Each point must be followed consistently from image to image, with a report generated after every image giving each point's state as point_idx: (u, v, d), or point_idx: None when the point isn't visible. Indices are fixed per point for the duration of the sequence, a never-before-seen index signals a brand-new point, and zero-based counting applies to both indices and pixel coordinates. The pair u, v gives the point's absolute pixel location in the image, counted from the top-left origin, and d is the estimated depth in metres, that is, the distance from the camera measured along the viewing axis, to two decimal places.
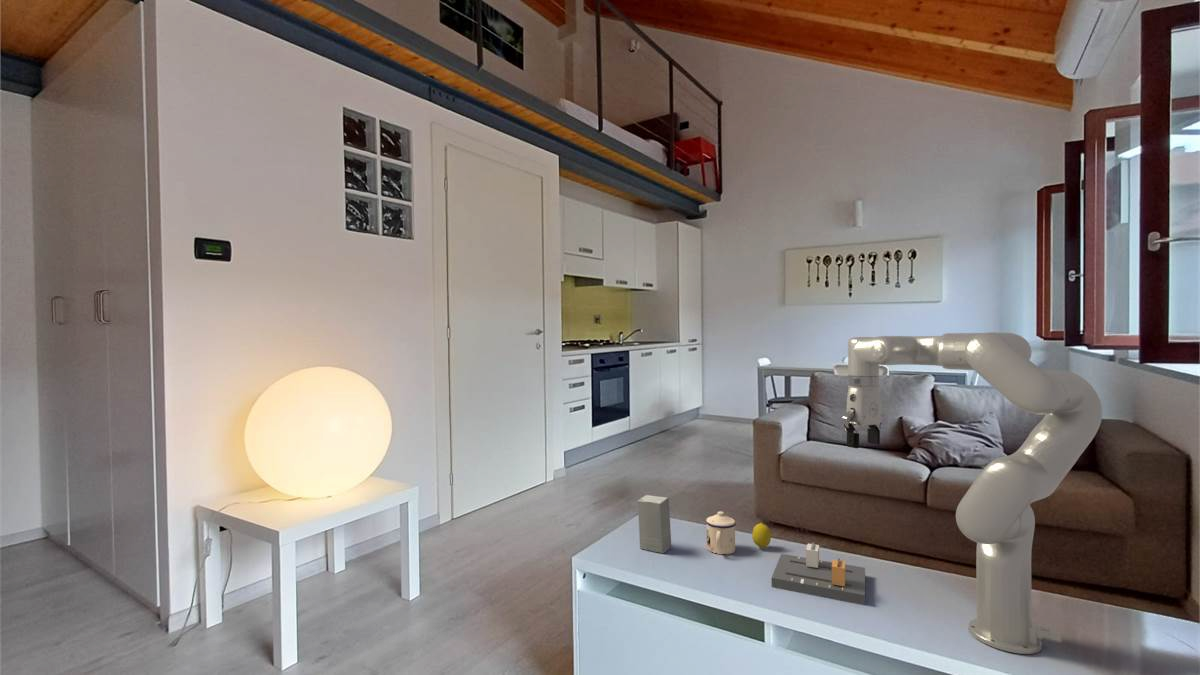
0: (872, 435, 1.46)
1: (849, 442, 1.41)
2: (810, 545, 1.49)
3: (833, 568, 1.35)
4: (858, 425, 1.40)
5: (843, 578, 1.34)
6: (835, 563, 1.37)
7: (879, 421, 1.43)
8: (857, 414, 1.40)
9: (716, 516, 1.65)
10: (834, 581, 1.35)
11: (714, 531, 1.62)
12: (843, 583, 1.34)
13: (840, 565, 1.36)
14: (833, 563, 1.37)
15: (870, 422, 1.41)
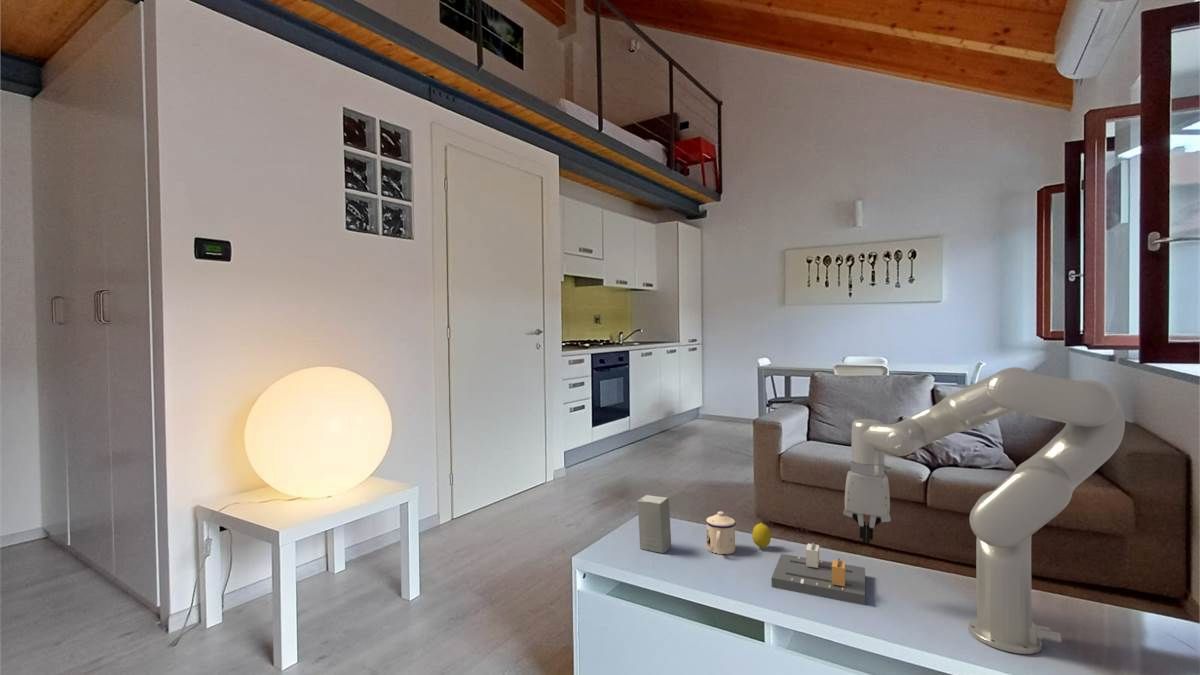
0: None
1: (872, 537, 1.33)
2: (810, 545, 1.49)
3: (833, 568, 1.35)
4: None
5: (843, 578, 1.34)
6: (835, 563, 1.37)
7: None
8: None
9: (716, 516, 1.65)
10: (834, 581, 1.35)
11: (714, 531, 1.62)
12: (843, 583, 1.34)
13: (840, 565, 1.36)
14: (833, 563, 1.37)
15: None
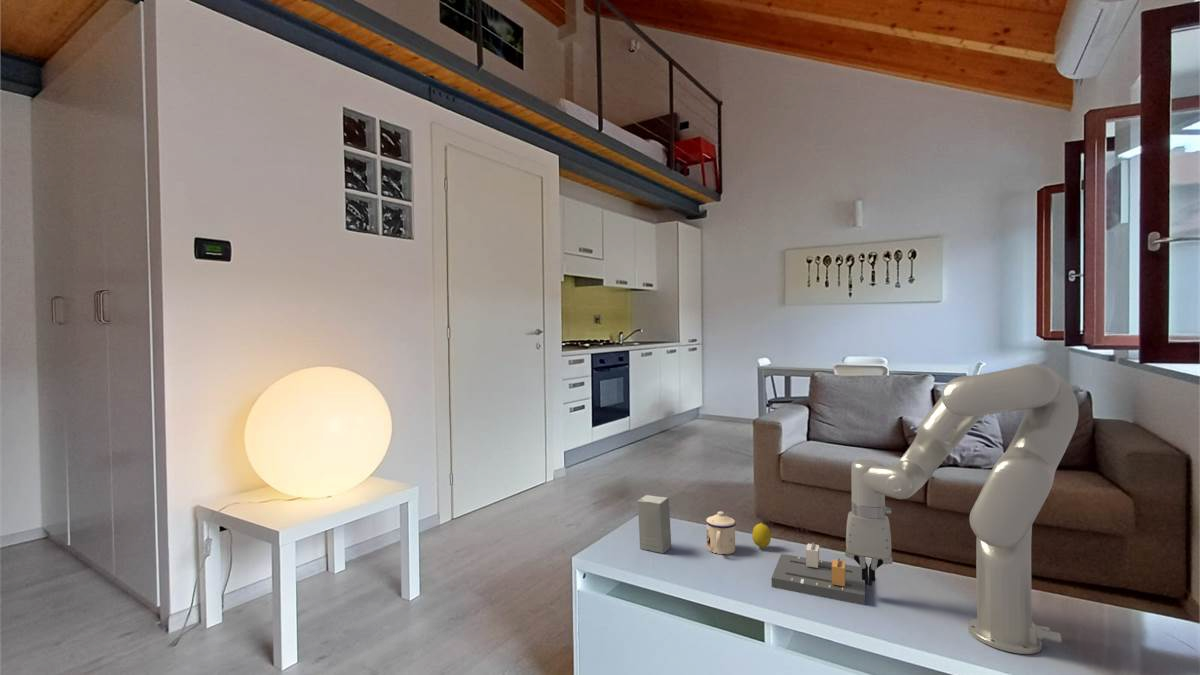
0: None
1: None
2: (810, 545, 1.49)
3: (833, 568, 1.35)
4: None
5: (843, 578, 1.34)
6: (835, 563, 1.37)
7: None
8: None
9: (716, 516, 1.65)
10: (834, 581, 1.35)
11: (714, 531, 1.62)
12: (843, 583, 1.34)
13: (840, 565, 1.36)
14: (833, 563, 1.37)
15: None
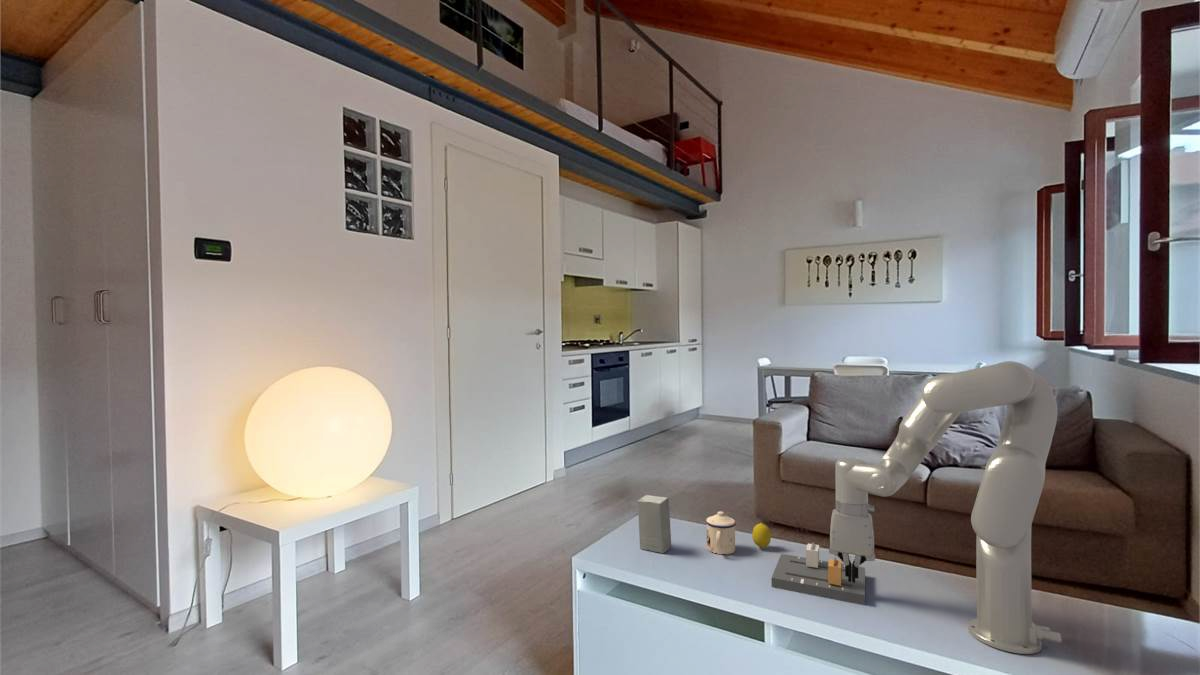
0: (851, 570, 1.35)
1: None
2: (810, 545, 1.49)
3: (829, 567, 1.35)
4: None
5: (839, 577, 1.34)
6: (831, 562, 1.37)
7: None
8: None
9: (716, 516, 1.65)
10: (831, 581, 1.35)
11: (714, 531, 1.62)
12: (839, 582, 1.34)
13: (836, 564, 1.36)
14: (829, 562, 1.37)
15: None
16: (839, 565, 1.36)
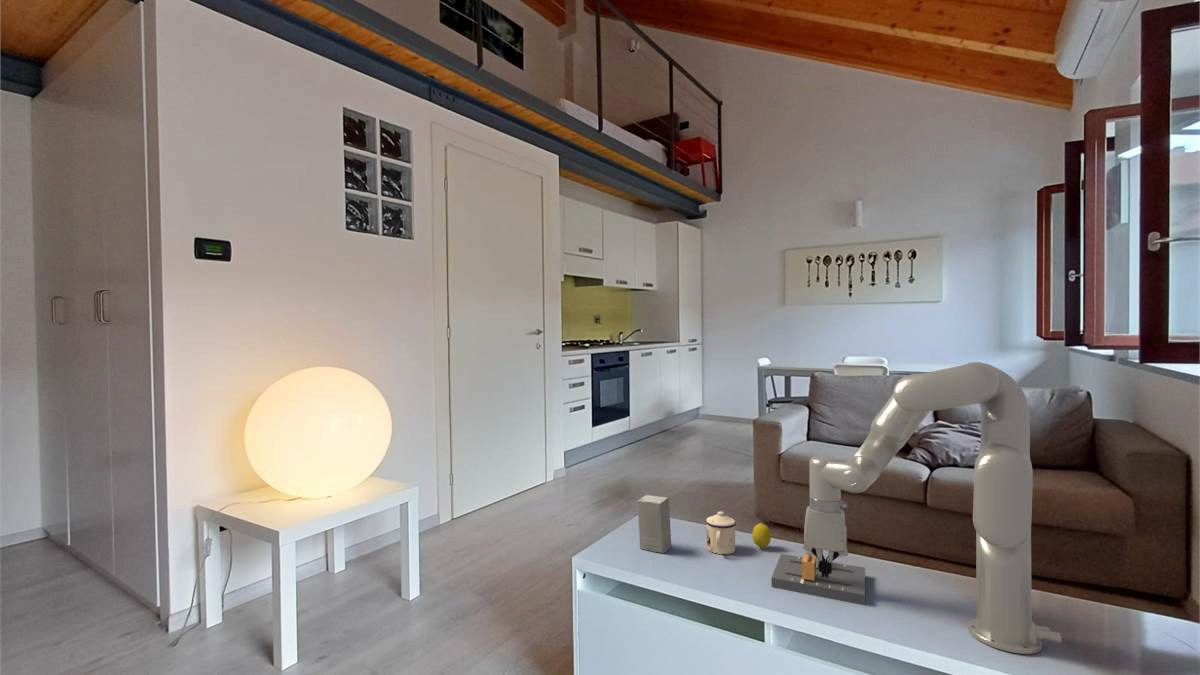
0: None
1: (831, 571, 1.37)
2: None
3: (803, 563, 1.38)
4: None
5: (813, 573, 1.37)
6: (806, 558, 1.40)
7: None
8: (846, 537, 1.37)
9: (716, 516, 1.65)
10: (804, 576, 1.38)
11: (714, 531, 1.62)
12: (813, 577, 1.37)
13: (810, 560, 1.39)
14: (804, 558, 1.40)
15: None
16: (813, 561, 1.39)
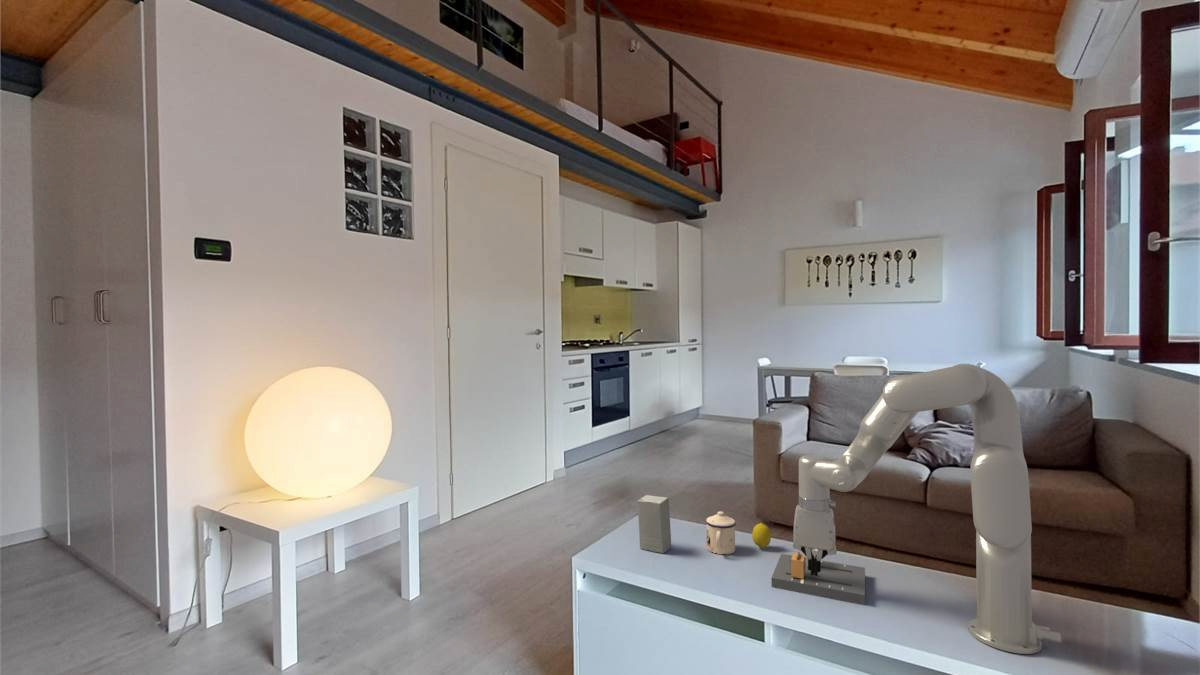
0: None
1: (820, 570, 1.38)
2: None
3: (792, 561, 1.39)
4: None
5: (802, 571, 1.38)
6: (795, 556, 1.41)
7: None
8: (835, 536, 1.38)
9: (716, 516, 1.65)
10: (793, 574, 1.39)
11: (714, 531, 1.62)
12: (802, 575, 1.38)
13: (799, 558, 1.40)
14: (793, 556, 1.41)
15: None
16: (802, 559, 1.40)
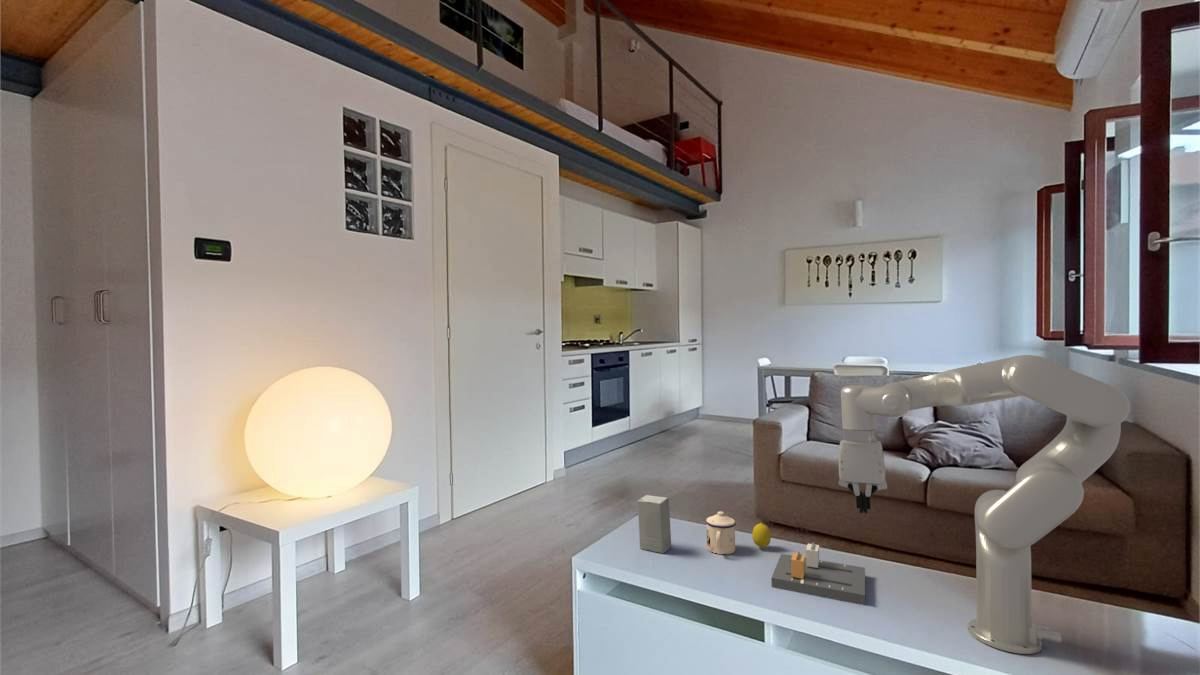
0: None
1: None
2: (810, 545, 1.49)
3: (792, 561, 1.39)
4: None
5: (802, 571, 1.38)
6: (795, 556, 1.41)
7: None
8: None
9: (716, 516, 1.65)
10: (793, 574, 1.39)
11: (714, 531, 1.62)
12: (802, 575, 1.38)
13: (799, 558, 1.40)
14: (793, 556, 1.41)
15: None
16: (802, 559, 1.40)
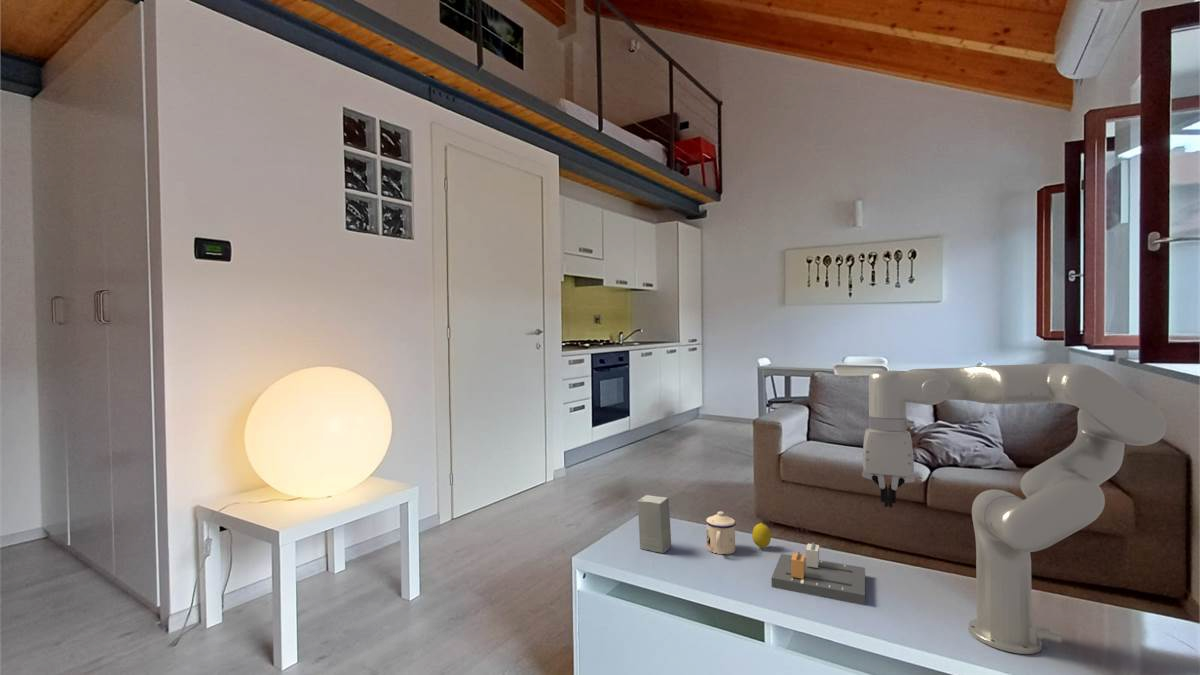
0: (887, 495, 1.21)
1: (895, 500, 1.20)
2: (810, 545, 1.49)
3: (792, 561, 1.39)
4: None
5: (802, 571, 1.38)
6: (795, 556, 1.41)
7: None
8: None
9: (716, 516, 1.65)
10: (793, 574, 1.39)
11: (714, 531, 1.62)
12: (802, 575, 1.38)
13: (799, 558, 1.40)
14: (793, 556, 1.41)
15: None
16: (802, 559, 1.40)
